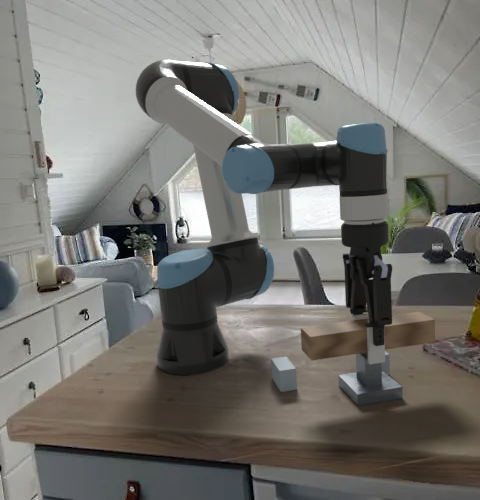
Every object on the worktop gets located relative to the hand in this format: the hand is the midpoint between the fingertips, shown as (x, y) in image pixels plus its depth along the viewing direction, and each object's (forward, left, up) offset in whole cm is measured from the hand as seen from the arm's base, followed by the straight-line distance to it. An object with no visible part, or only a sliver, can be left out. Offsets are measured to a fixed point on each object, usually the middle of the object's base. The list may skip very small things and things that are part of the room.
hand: (368, 356), depth 84 cm
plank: (0, 0, +2) cm, 2 cm away
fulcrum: (0, 0, -7) cm, 7 cm away
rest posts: (-4, +8, -7) cm, 11 cm away
